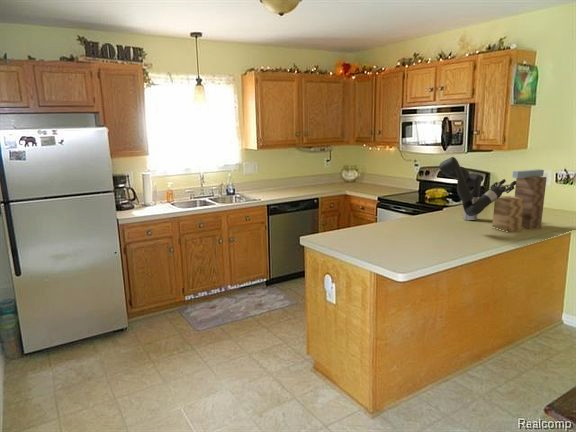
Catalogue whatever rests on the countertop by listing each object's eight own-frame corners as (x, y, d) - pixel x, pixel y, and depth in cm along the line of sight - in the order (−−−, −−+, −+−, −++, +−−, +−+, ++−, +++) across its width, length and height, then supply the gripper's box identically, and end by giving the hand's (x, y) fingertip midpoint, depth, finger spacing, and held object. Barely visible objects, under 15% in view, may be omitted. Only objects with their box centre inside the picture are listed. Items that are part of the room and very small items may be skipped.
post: (529, 229, 275) (534, 178, 267) (511, 224, 288) (516, 175, 280) (540, 228, 278) (546, 177, 270) (522, 223, 291) (528, 174, 283)
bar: (517, 178, 269) (518, 172, 268) (512, 177, 272) (512, 171, 272) (543, 175, 276) (543, 169, 275) (537, 175, 279) (538, 169, 278)
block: (506, 232, 270) (509, 200, 265) (492, 227, 281) (494, 197, 276) (520, 230, 274) (524, 198, 269) (506, 226, 285) (509, 195, 280)
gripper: (498, 192, 260) (517, 177, 262) (481, 188, 273) (499, 174, 275) (502, 201, 262) (521, 187, 265) (485, 198, 275) (503, 184, 278)
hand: (510, 181), depth 270 cm, fingers open, 8 cm apart
